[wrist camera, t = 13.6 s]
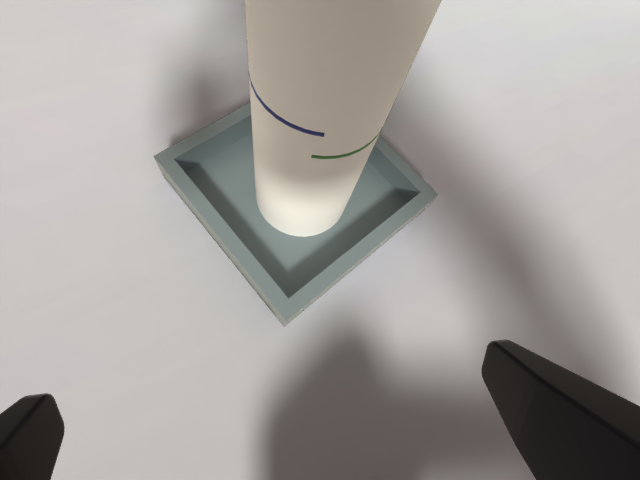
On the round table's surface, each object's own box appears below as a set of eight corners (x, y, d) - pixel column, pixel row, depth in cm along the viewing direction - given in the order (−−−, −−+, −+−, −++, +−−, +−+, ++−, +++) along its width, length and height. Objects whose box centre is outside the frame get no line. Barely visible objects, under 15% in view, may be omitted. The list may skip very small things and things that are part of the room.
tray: (423, 211, 31) (438, 194, 28) (284, 326, 26) (286, 320, 23) (309, 92, 34) (313, 67, 31) (164, 177, 29) (153, 156, 26)
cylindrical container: (272, 145, 30) (292, -601, 7) (354, 171, 31) (630, -472, 7) (242, 220, 28) (123, -575, 5) (333, 248, 28) (657, -377, 5)
